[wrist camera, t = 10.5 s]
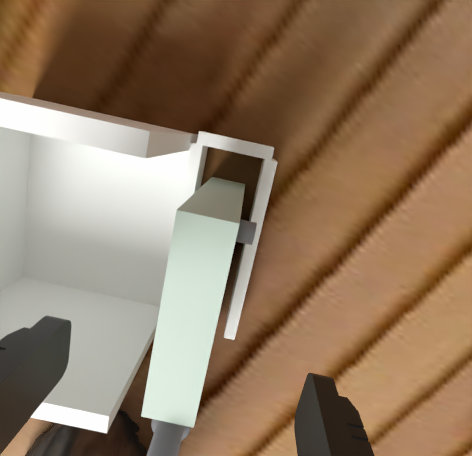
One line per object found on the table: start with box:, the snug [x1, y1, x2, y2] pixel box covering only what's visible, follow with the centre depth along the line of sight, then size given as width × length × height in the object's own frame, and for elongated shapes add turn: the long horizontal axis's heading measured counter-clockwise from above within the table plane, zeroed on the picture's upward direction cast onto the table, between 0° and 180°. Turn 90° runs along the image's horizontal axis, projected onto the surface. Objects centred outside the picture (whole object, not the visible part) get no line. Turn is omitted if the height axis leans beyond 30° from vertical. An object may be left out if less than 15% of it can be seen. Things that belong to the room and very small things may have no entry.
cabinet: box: [0, 92, 278, 456], centre depth 20 cm, size 18×16×13 cm
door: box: [141, 177, 257, 428], centre depth 20 cm, size 4×10×12 cm, turn 168°
